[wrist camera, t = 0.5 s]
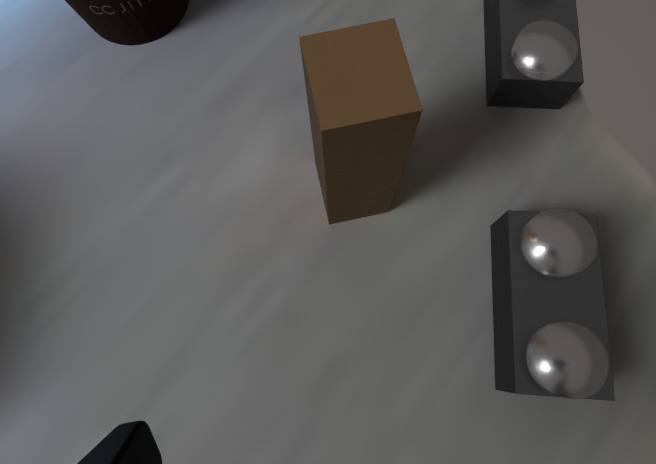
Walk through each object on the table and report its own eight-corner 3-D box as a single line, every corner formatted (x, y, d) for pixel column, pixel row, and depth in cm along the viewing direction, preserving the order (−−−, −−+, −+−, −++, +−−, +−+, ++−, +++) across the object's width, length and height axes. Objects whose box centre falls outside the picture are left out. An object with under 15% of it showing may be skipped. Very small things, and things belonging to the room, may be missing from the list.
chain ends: (583, 396, 21) (625, 402, 18) (495, 389, 21) (522, 394, 18) (550, -9, 27) (577, -57, 24) (483, -12, 27) (501, -59, 24)
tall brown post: (388, 211, 23) (422, 110, 14) (329, 224, 23) (321, 131, 14) (373, 152, 24) (394, 18, 15) (315, 164, 24) (299, 37, 15)
